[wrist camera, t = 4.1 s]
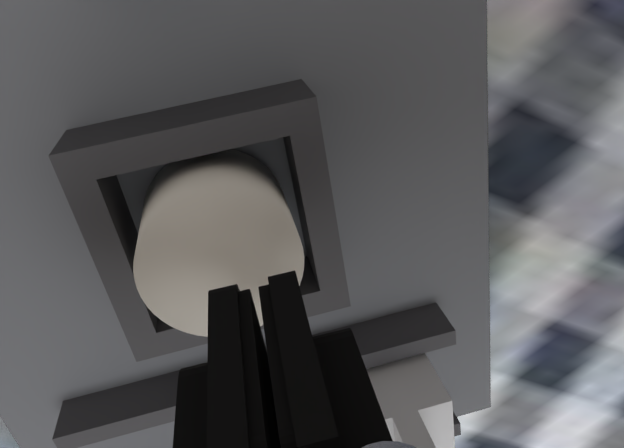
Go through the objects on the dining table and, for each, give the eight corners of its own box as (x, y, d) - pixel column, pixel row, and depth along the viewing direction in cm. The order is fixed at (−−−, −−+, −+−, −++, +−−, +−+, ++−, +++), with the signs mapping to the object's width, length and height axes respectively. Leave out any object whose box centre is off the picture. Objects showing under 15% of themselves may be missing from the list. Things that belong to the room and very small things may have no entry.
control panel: (439, -456, 12) (581, -687, 8) (468, 373, 24) (530, 468, 20) (-402, -353, 10) (-833, -570, 6) (79, 481, 22) (52, 612, 18)
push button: (270, 133, 15) (287, 173, 12) (296, 256, 17) (316, 313, 14) (123, 166, 14) (107, 215, 12) (167, 288, 16) (162, 354, 14)
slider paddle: (414, 334, 19) (501, 487, 14) (420, 398, 21) (502, 559, 15) (332, 356, 19) (388, 521, 13) (344, 420, 20) (400, 590, 15)
